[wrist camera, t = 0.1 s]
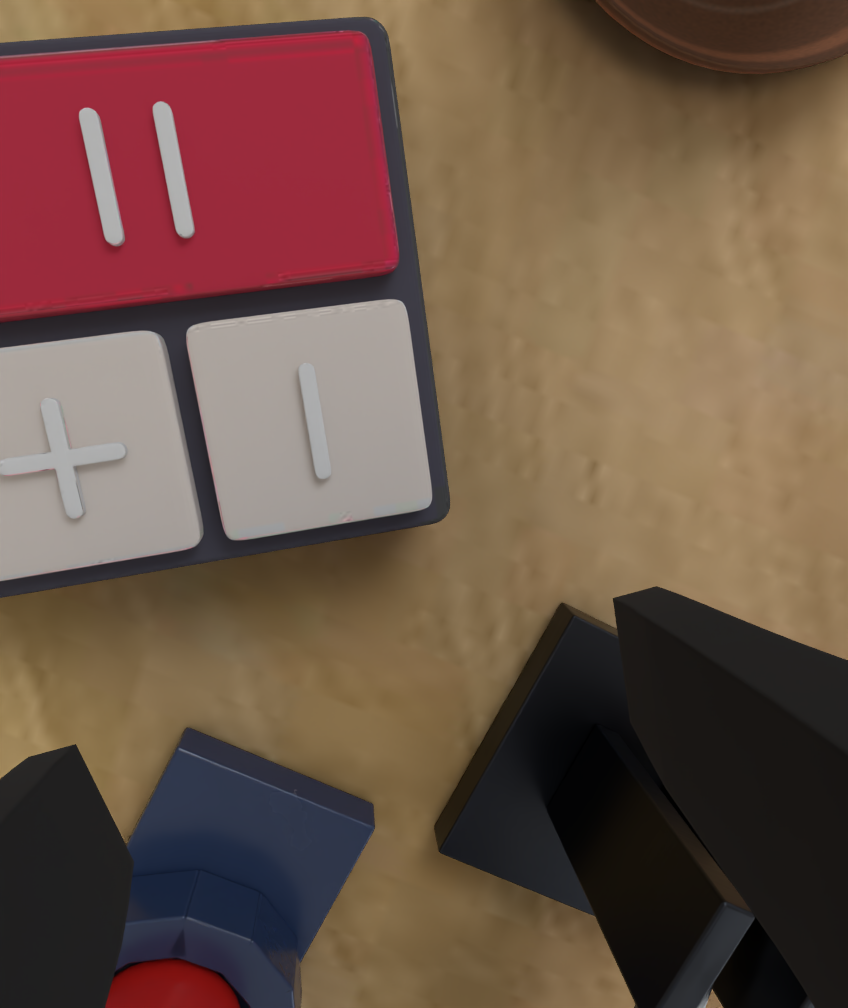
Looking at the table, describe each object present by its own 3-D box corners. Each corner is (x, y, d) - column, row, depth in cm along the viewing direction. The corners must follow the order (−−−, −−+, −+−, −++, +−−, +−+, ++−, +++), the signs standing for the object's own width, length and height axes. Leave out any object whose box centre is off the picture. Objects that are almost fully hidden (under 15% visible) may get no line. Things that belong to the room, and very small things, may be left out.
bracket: (648, 916, 23) (811, 1209, 15) (432, 827, 21) (484, 1097, 13) (776, 708, 22) (1024, 899, 14) (561, 601, 21) (698, 745, 13)
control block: (242, 1071, 22) (226, 1176, 19) (29, 1001, 21) (-23, 1103, 18) (387, 808, 21) (394, 878, 18) (171, 719, 20) (141, 778, 17)
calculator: (461, 528, 16) (-270, 654, 14) (429, 497, 20) (-137, 591, 18) (391, -9, 14) (-481, 50, 12) (372, 82, 18) (-276, 136, 16)
